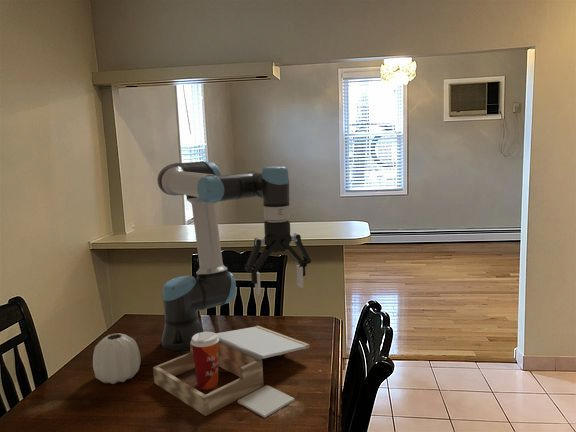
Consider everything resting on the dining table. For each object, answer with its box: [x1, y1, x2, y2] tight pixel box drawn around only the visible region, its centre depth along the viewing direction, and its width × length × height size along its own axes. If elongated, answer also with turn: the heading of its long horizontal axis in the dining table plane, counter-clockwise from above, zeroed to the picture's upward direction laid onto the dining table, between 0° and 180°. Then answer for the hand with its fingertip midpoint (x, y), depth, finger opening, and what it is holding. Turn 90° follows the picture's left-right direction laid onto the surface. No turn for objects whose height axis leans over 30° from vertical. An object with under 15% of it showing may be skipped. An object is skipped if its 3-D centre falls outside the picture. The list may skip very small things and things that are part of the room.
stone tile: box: [237, 385, 295, 419], centre depth 127 cm, size 11×11×1 cm
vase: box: [92, 332, 142, 385], centre depth 143 cm, size 14×14×13 cm
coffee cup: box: [191, 331, 219, 391], centre depth 137 cm, size 8×8×15 cm
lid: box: [216, 325, 310, 361], centre depth 151 cm, size 26×22×5 cm
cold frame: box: [152, 342, 264, 417], centre depth 137 cm, size 26×20×8 cm
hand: (279, 290), depth 138 cm, fingers open, 13 cm apart
